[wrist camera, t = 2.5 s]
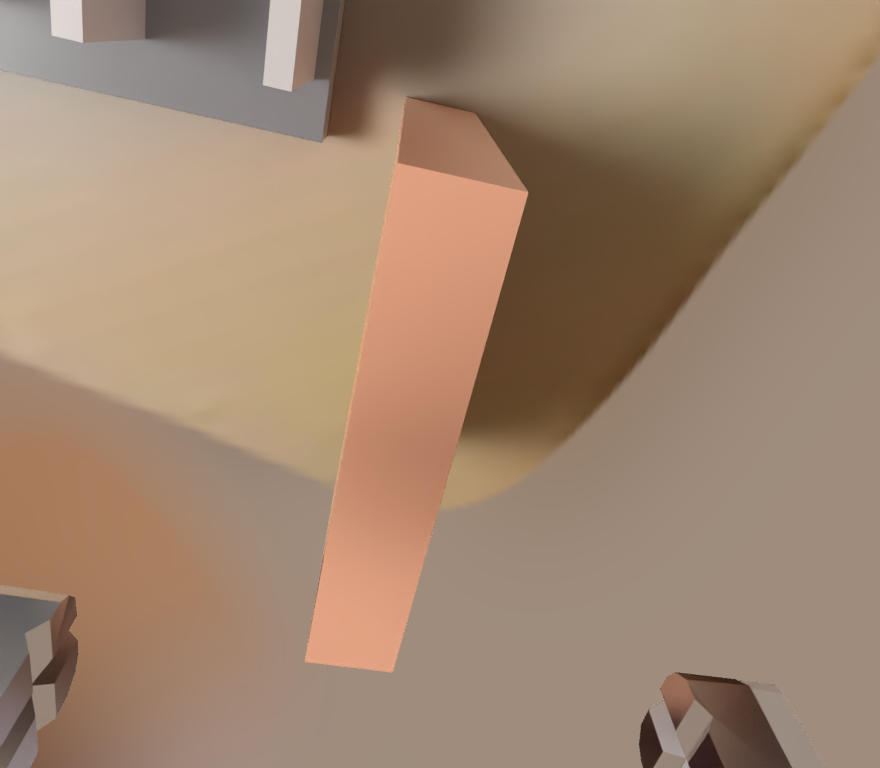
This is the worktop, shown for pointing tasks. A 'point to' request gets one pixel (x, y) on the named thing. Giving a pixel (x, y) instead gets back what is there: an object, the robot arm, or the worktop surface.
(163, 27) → the dish rack
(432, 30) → the worktop surface
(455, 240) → the plate tile
